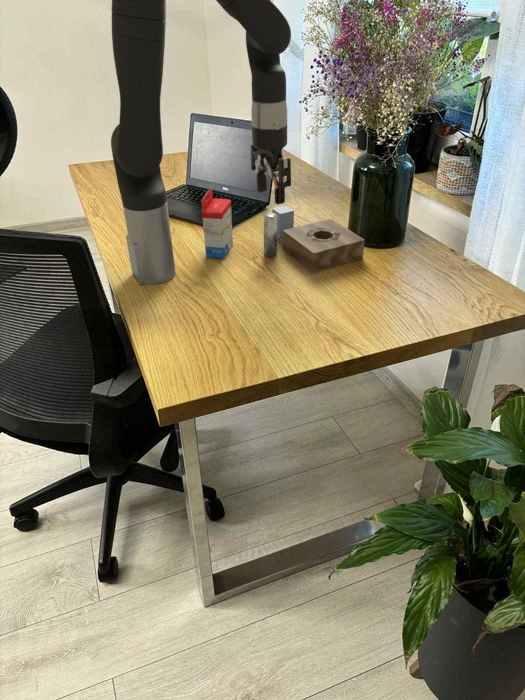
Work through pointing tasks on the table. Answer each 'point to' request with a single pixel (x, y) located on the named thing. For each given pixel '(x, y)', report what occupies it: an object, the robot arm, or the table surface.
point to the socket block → (323, 245)
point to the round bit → (270, 234)
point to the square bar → (283, 219)
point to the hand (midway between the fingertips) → (270, 197)
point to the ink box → (217, 225)
